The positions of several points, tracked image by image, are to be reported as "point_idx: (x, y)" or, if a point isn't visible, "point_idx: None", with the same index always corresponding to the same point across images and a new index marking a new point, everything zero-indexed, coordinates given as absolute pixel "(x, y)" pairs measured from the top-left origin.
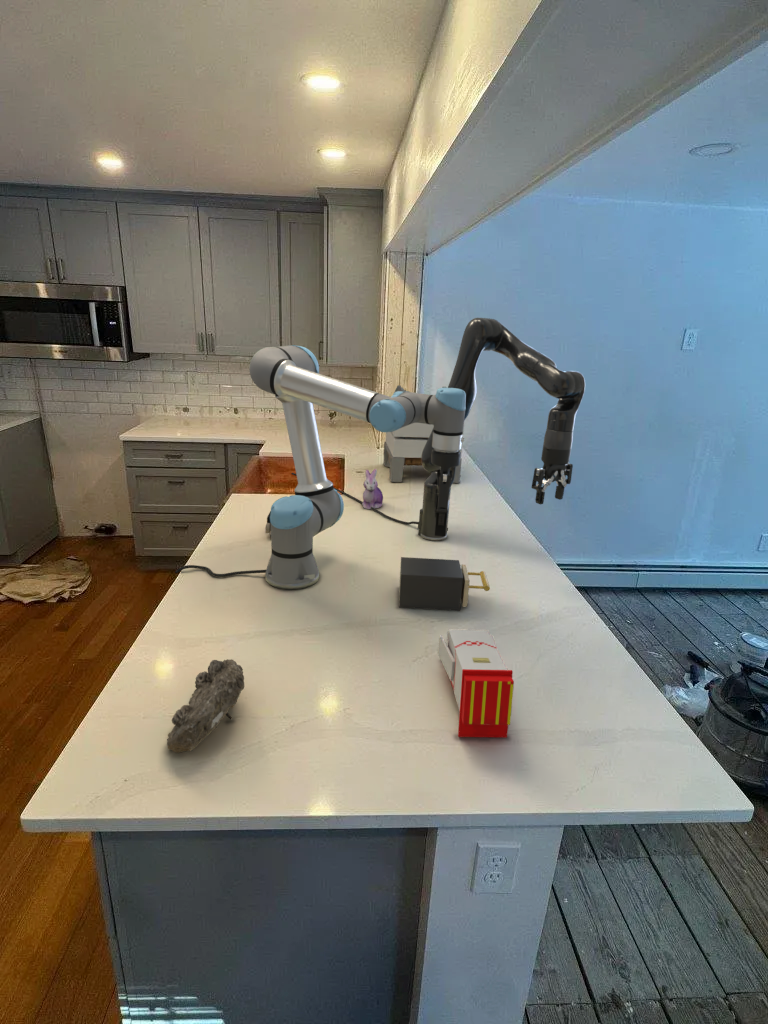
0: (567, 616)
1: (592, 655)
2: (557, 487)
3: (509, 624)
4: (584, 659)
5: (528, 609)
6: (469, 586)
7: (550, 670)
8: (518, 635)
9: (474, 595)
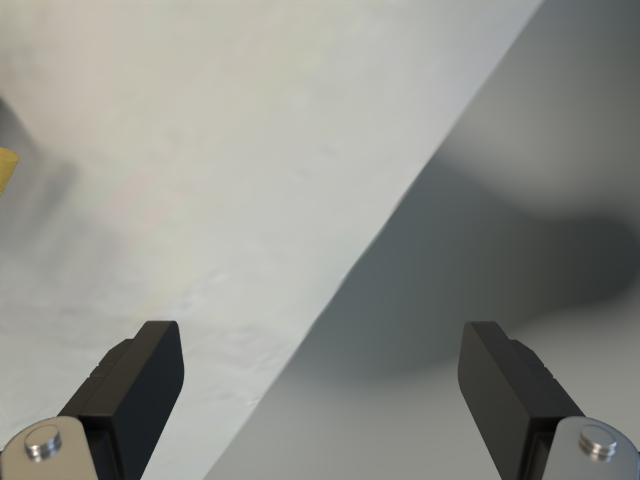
0: (219, 356)
1: None
2: (517, 417)
3: (43, 308)
4: None
5: (147, 284)
6: None
7: None
8: (33, 350)
9: (39, 136)
